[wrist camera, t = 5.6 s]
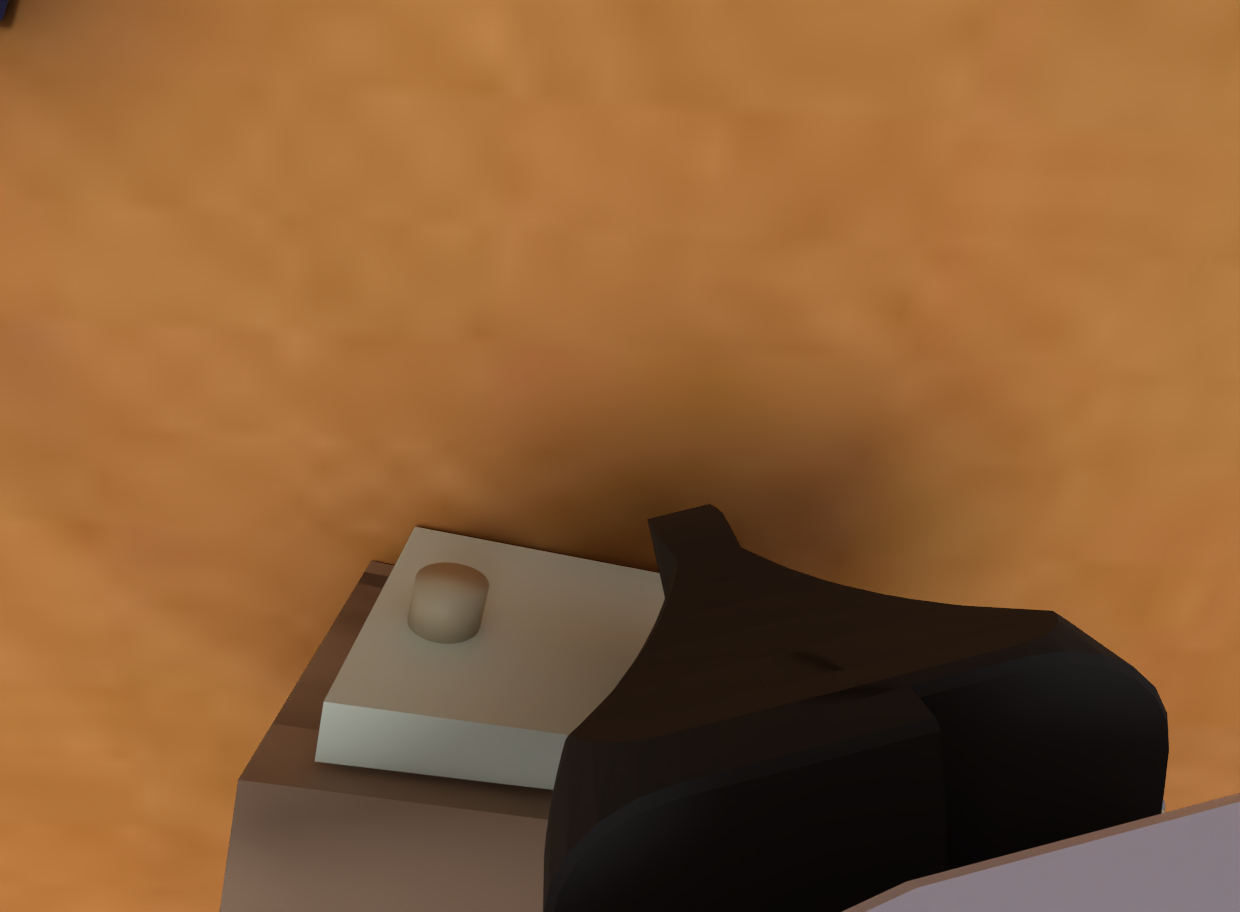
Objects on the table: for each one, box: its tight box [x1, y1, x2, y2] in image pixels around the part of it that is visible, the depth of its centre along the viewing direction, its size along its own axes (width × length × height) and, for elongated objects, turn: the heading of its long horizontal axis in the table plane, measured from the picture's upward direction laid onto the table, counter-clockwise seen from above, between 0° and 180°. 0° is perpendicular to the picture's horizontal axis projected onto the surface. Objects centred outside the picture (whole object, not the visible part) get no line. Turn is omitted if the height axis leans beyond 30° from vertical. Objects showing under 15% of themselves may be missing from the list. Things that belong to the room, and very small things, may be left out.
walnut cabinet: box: [220, 561, 553, 912], centre depth 13 cm, size 10×16×6 cm, turn 74°
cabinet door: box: [315, 527, 1166, 814], centre depth 12 cm, size 2×15×6 cm, turn 75°
